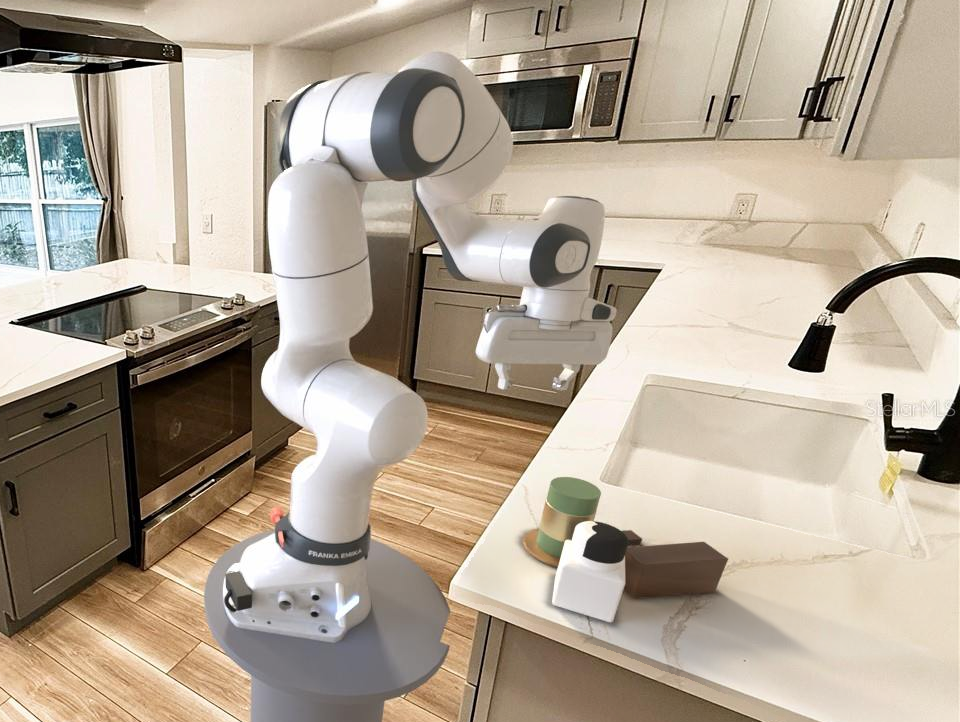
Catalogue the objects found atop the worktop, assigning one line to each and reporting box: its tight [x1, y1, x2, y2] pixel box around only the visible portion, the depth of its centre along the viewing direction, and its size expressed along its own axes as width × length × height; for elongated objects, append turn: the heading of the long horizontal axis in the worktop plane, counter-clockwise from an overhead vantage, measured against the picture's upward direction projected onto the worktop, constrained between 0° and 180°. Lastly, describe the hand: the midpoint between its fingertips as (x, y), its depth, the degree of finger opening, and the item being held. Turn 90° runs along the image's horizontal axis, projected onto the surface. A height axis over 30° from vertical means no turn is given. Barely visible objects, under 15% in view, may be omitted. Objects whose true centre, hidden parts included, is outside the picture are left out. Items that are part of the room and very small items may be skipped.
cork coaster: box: [522, 528, 560, 568], centre depth 98 cm, size 10×10×1 cm
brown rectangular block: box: [621, 529, 729, 599], centre depth 92 cm, size 14×12×6 cm
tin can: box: [536, 476, 602, 558], centre depth 95 cm, size 12×7×12 cm
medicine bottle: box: [551, 520, 629, 623], centre depth 85 cm, size 7×7×12 cm
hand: (531, 389), depth 101 cm, fingers open, 8 cm apart
